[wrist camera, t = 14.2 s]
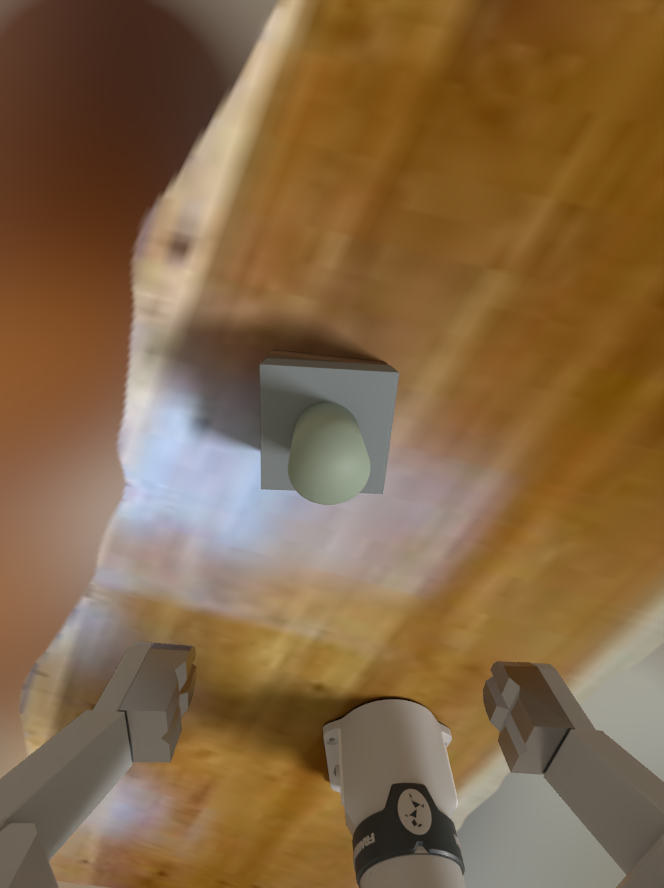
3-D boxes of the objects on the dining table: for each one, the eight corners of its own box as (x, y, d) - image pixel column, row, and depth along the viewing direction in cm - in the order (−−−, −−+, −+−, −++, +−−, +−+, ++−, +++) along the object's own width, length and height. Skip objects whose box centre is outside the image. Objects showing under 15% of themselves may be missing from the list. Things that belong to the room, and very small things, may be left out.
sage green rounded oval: (354, 465, 28) (363, 507, 22) (291, 460, 27) (285, 501, 22) (363, 405, 26) (376, 435, 20) (296, 399, 25) (290, 427, 20)
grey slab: (376, 474, 32) (382, 493, 29) (267, 470, 31) (261, 489, 28) (390, 365, 28) (399, 372, 25) (266, 357, 28) (259, 364, 24)
